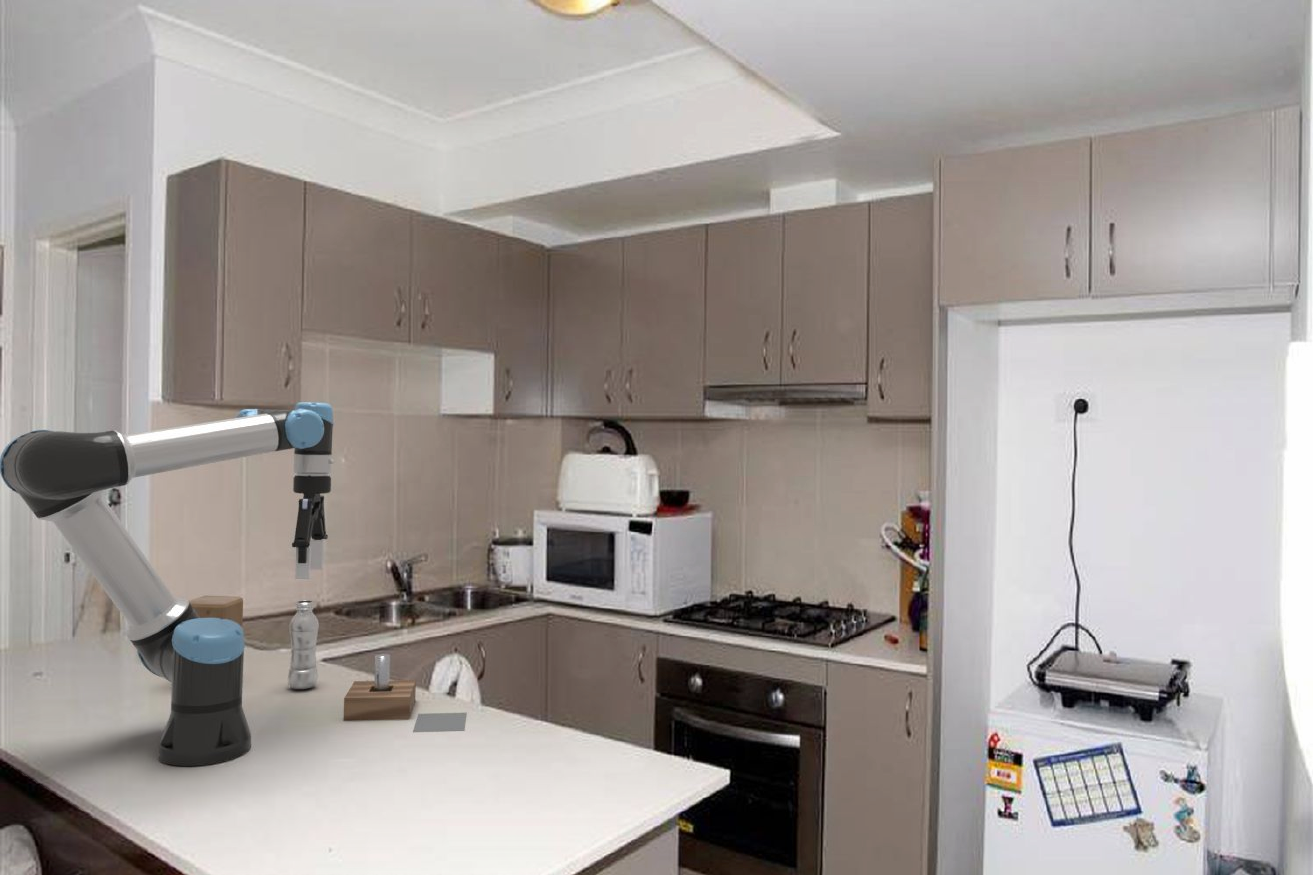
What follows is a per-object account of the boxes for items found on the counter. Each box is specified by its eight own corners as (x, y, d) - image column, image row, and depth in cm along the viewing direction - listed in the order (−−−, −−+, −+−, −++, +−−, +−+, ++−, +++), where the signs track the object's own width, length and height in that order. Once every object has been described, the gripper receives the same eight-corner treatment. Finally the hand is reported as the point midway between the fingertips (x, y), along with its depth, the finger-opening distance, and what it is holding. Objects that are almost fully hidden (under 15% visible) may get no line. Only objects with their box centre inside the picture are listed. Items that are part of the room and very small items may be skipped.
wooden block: (221, 692, 201) (223, 603, 201) (177, 690, 201) (179, 602, 202) (242, 680, 211) (245, 595, 211) (200, 679, 211) (203, 594, 212)
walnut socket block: (409, 720, 184) (409, 696, 184) (343, 722, 182) (344, 697, 182) (415, 702, 197) (415, 679, 197) (353, 703, 195) (354, 681, 195)
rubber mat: (464, 732, 178) (464, 730, 178) (412, 733, 176) (412, 731, 176) (466, 714, 190) (466, 712, 190) (418, 715, 188) (418, 713, 188)
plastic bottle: (322, 685, 209) (325, 599, 209) (308, 693, 202) (311, 604, 202) (296, 683, 210) (299, 598, 210) (281, 691, 203) (284, 603, 203)
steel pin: (387, 714, 188) (389, 657, 188) (372, 714, 188) (374, 657, 188) (389, 709, 191) (390, 653, 191) (374, 710, 191) (376, 654, 191)
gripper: (319, 477, 180) (316, 582, 179) (341, 472, 204) (338, 565, 204) (279, 476, 178) (276, 582, 178) (306, 472, 203) (303, 565, 203)
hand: (309, 574), depth 191 cm, fingers open, 13 cm apart
